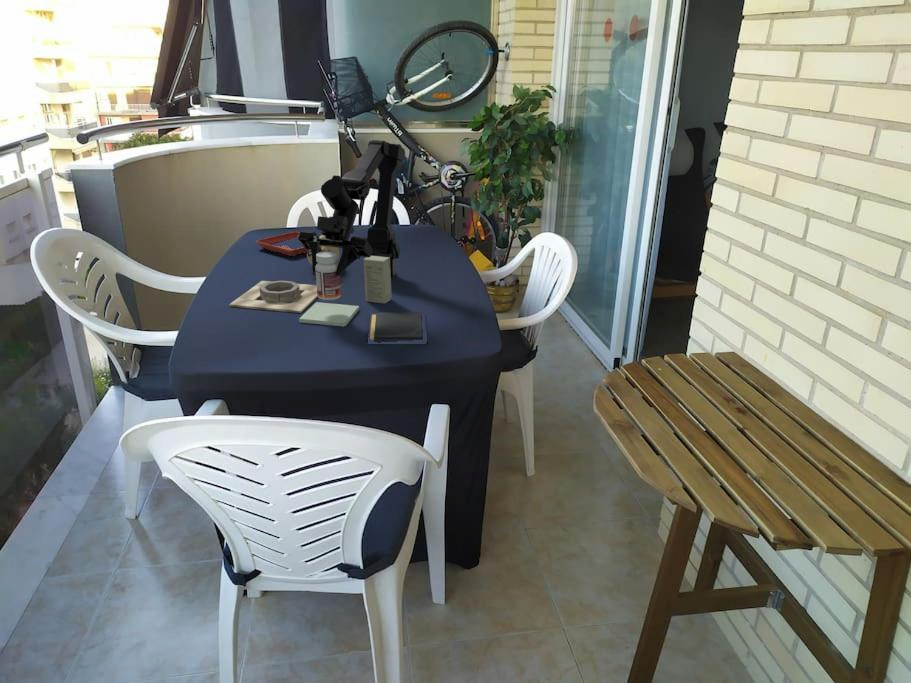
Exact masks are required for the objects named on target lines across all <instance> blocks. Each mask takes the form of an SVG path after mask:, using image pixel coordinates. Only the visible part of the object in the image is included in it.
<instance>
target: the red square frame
mask: <svg viewBox="0 0 911 683" xmlns="http://www.w3.org/2000/svg"><path fill="white" fill-rule="evenodd" d="M300 232H301V231H300ZM300 232H299V231H293V232H292V231H291V232H287V233H284V234H278V235H274V236H269V237H265V238H262V239H257V240H255V242H256V243H257V245H259V247H261V248H265V249H268V250H267V251H269V250H272V251H275V252H274V253H276V252H279V253H282V254H281V255H283V254H285V255H284V256H286V255H289V256H288V257H290V256H293V257H295V256H294V255H297V254H301V253H304V252H307V251H308V250H307V249H305V248H304V247H301V248H297V249H291V248H289V247H288V246H286V245H285V246H286V247H285V246H284V245H283V246H281V247H280V246H274V245H273V244H276V243H279V242H283V241H286V240H290V239H292V238H295V237H297V238H298V235H299V233H300ZM287 247H288V248H287ZM265 249H264V250H265ZM272 251H271V252H272ZM279 253H278V254H279ZM304 254H305V253H304ZM301 255H302V254H301ZM297 256H298V255H297Z"/></svg>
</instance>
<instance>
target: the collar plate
mask: <svg viewBox="0 0 911 683" xmlns="http://www.w3.org/2000/svg"><path fill="white" fill-rule="evenodd" d="M318 298H319V297H318V296H317V285H316V284H306V283H305V284H304V283H296V282H295V281H290V280H289V281H288V280H276V281H275V280H274V281H269V280H260V281H259V282H258V283H257V284H255V285H253V287H251V288H250V289H249V290H247V291H246V292H244V293H243V294H241V295H240V296H239V297H238V298H236V299H235V300H233V301H232V302H231V303H229V305H228V306H229V308H231V307H232V308H240V309H241V308H243V309H253V310H261V311H262V310H264V311H273V310H274V311H275V312H285V313H294V314H295V313H298V314H302V313H303V312H304V311H305V310H306V309H307V308H308V307H309V306H310V305H311V304H312V303H313V302H315V300H316V299H318ZM260 299H261V300H260Z"/></svg>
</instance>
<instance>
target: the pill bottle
mask: <svg viewBox="0 0 911 683" xmlns="http://www.w3.org/2000/svg"><path fill="white" fill-rule="evenodd" d="M316 261H317V262H318V263H317V264H316V266H315V271H316V272H315V281H316V284H315V285H317V296H318V297H317V298H318V299H321V300H323V301H333V300H337V299H339V298H340V297H341V296H342V281H341V278H342V277H341V274H340V275H339V276H337V275H336V270H337V267H338V264H339V262H338V261H337V253H335V252H331V251H324V252H319V253H317V254H316Z"/></svg>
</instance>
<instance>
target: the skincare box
mask: <svg viewBox="0 0 911 683" xmlns="http://www.w3.org/2000/svg"><path fill="white" fill-rule="evenodd" d="M363 272H364V274H363V275H364V276H363V278H364V293H365V294H364V295H365V301H366V302H368V303H370V302H371V303H377V304H385V305H386V304H387V303H388V302H389V301H391V300H392V298H393V297H392V279H391V271H390V257H381V256H371V257H364V258H363Z"/></svg>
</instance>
